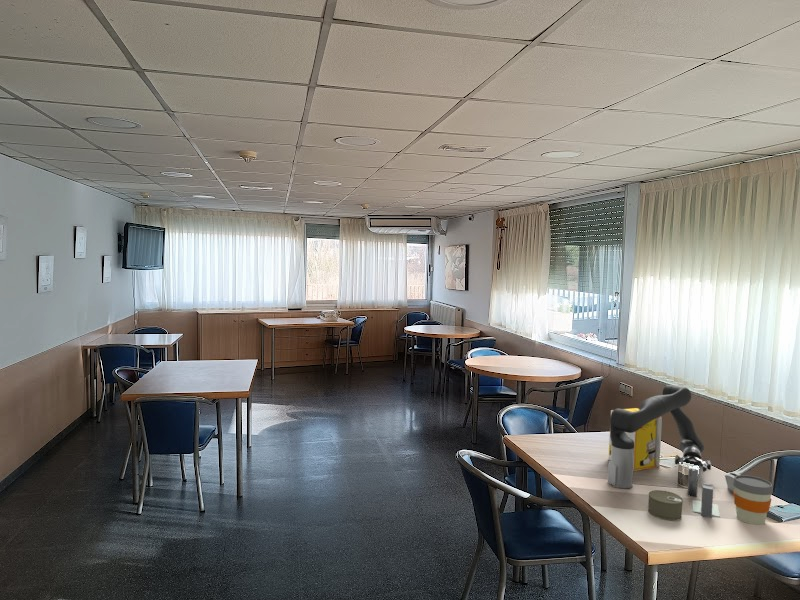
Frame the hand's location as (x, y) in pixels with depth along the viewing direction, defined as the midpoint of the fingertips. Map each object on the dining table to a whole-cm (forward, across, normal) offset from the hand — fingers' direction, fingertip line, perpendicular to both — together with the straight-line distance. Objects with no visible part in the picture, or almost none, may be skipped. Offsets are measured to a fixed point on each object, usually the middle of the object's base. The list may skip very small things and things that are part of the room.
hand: (692, 467), depth 233 cm
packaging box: (-15, -25, +8) cm, 30 cm away
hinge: (+3, +18, +8) cm, 20 cm away
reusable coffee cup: (+27, +19, +8) cm, 34 cm away
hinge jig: (+27, +4, +7) cm, 28 cm away
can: (+39, -10, +7) cm, 41 cm away
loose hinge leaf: (+11, 0, +8) cm, 14 cm away
